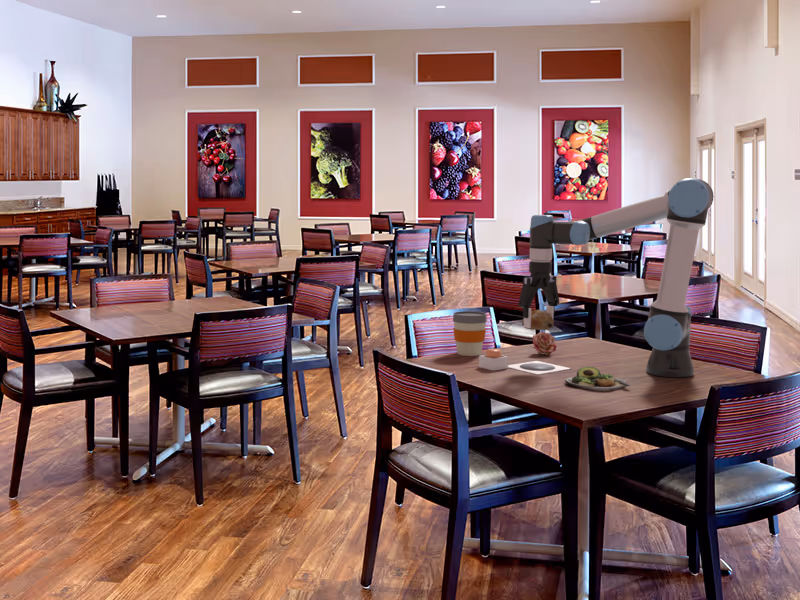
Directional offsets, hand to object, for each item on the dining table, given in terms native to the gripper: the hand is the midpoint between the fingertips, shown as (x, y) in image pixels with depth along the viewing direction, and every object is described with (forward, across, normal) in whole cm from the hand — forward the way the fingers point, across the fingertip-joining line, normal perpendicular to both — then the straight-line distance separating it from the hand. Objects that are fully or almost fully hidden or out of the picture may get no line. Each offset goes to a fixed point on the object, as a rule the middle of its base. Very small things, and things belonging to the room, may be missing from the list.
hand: (538, 326), depth 293 cm
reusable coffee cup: (+15, +2, -33) cm, 36 cm away
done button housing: (+15, +12, -9) cm, 21 cm away
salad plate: (+15, +3, +28) cm, 32 cm away
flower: (+15, -20, -16) cm, 30 cm away
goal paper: (+15, 0, 0) cm, 15 cm away
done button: (+12, +12, -9) cm, 19 cm away
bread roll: (+1, 0, 0) cm, 1 cm away
